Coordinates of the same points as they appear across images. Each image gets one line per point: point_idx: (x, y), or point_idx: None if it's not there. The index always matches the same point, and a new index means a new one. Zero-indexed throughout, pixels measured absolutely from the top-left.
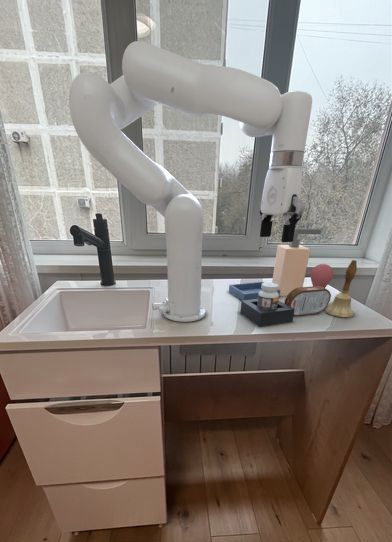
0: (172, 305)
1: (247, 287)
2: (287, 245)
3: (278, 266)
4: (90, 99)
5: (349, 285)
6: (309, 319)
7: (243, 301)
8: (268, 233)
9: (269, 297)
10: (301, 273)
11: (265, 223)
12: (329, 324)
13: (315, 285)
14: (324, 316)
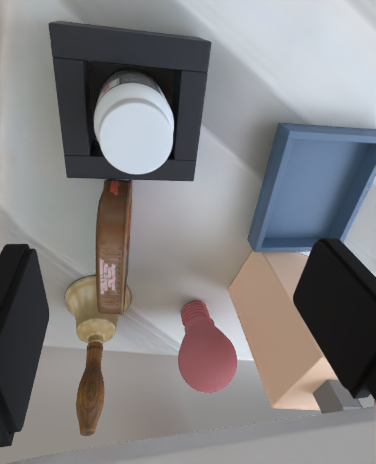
0: None
1: (349, 196)
2: None
3: None
4: None
5: (86, 362)
6: (79, 215)
7: (198, 43)
8: (307, 299)
9: (98, 105)
10: (250, 330)
11: (369, 334)
12: (35, 238)
13: (199, 325)
14: (87, 258)
